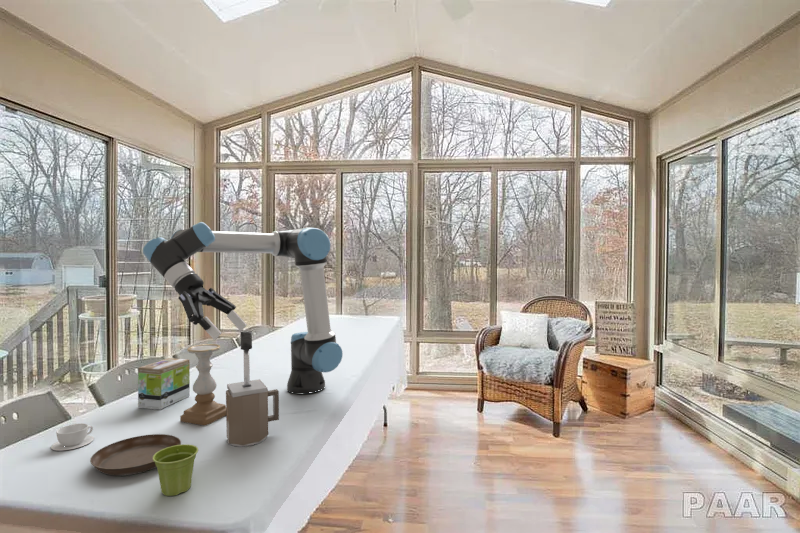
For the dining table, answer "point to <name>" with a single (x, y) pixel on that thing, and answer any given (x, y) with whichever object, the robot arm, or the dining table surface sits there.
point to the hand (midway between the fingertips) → (231, 332)
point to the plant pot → (175, 468)
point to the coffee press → (249, 412)
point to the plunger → (246, 354)
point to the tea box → (163, 383)
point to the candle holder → (204, 390)
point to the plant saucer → (131, 454)
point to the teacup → (72, 437)
